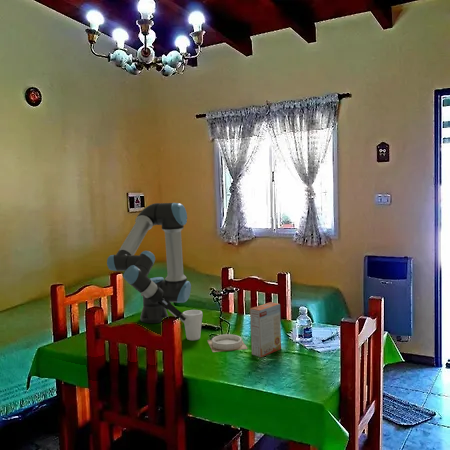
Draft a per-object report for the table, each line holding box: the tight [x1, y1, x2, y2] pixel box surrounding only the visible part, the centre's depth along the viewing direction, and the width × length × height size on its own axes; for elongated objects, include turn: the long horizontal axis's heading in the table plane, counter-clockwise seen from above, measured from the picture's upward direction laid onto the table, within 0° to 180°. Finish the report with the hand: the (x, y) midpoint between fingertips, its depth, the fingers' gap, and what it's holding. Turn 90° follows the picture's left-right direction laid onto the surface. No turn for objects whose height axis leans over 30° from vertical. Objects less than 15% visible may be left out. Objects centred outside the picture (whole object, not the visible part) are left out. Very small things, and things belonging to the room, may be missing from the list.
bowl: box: [211, 333, 243, 350], centre depth 214 cm, size 14×14×2 cm
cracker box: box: [249, 301, 282, 358], centre depth 203 cm, size 14×6×21 cm, turn 134°
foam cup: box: [182, 309, 204, 341], centre depth 224 cm, size 10×9×13 cm
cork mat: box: [206, 339, 249, 353], centre depth 214 cm, size 16×16×1 cm
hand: (183, 319), depth 220 cm, fingers open, 13 cm apart
